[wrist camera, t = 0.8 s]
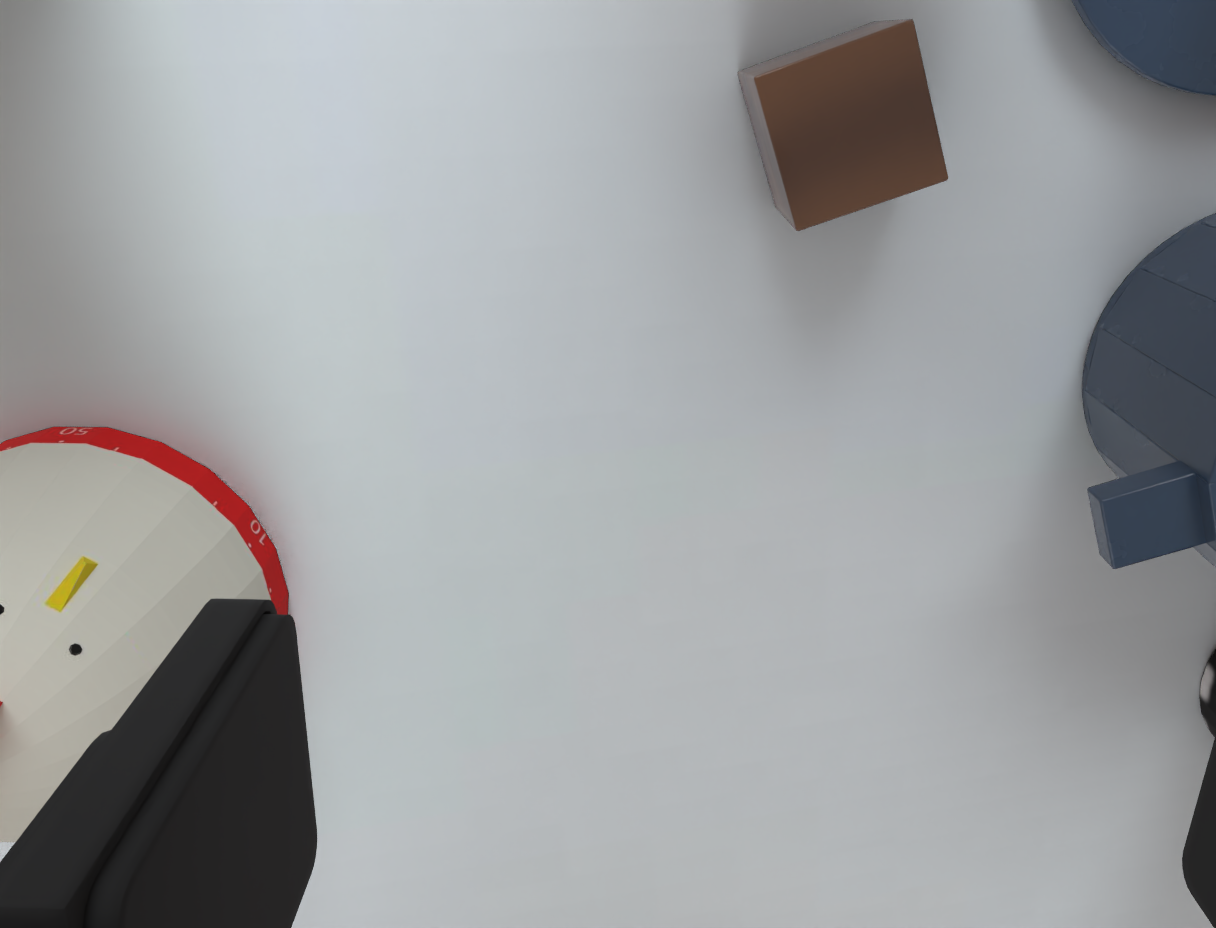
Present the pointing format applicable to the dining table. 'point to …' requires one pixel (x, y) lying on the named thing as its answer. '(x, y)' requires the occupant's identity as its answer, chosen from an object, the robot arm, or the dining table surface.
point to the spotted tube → (1209, 695)
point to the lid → (1158, 39)
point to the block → (845, 123)
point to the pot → (1157, 404)
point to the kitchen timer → (103, 588)
